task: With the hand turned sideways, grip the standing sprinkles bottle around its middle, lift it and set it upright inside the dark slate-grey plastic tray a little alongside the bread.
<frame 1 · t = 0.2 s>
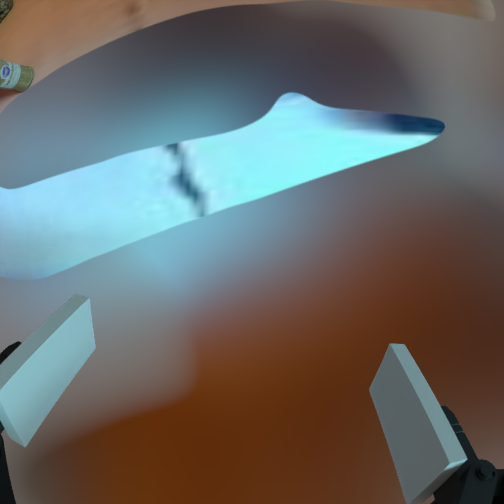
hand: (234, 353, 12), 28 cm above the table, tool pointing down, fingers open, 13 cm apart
sprinkles bottle: (26, 79, 34), on the table
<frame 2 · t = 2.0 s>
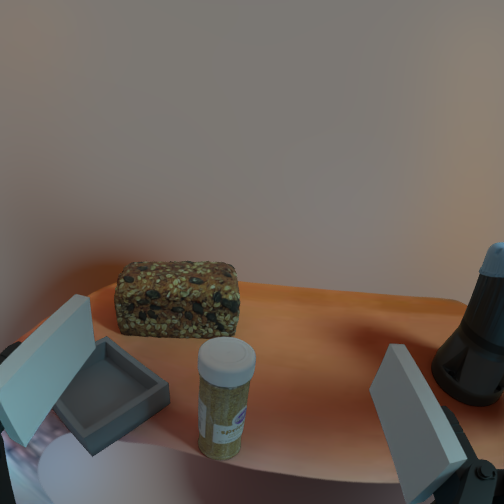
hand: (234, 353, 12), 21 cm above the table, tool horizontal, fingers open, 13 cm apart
tray: (101, 399, 30), on the table
sprinkles bottle: (219, 445, 28), on the table
bread: (177, 323, 49), on the table
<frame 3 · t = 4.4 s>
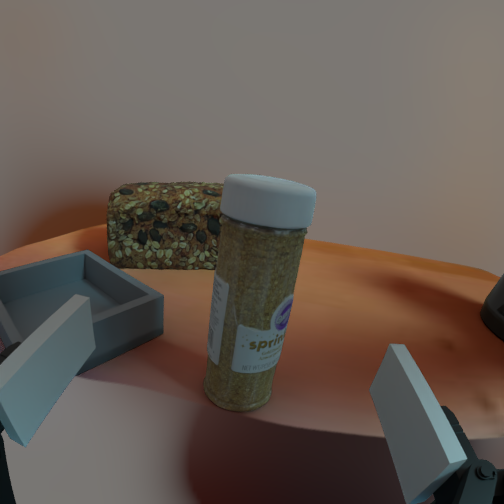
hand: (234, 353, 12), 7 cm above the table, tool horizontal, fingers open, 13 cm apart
tray: (65, 324, 22), on the table
sprinkles bottle: (236, 391, 19), on the table
bread: (178, 258, 41), on the table
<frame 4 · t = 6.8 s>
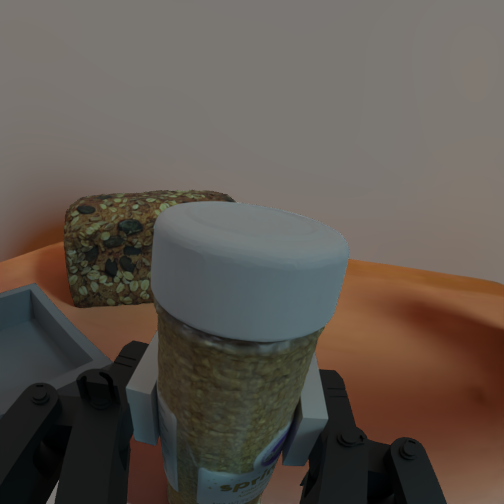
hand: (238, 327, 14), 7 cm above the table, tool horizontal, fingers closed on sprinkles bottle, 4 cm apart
tray: (5, 384, 14), on the table
sprinkles bottle: (212, 496, 11), on the table, touching gripper
bread: (153, 284, 33), on the table
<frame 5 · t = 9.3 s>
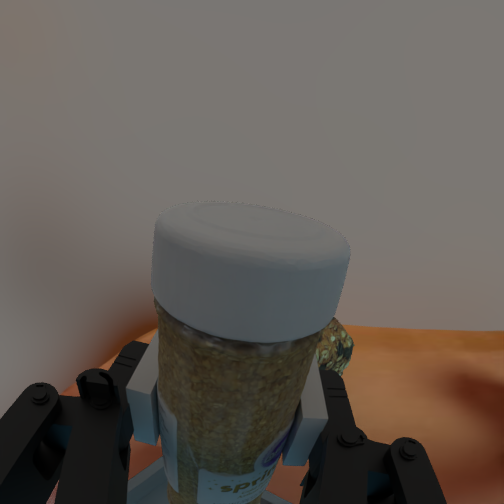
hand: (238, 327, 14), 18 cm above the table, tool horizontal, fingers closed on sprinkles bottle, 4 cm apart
sprinkles bottle: (213, 497, 11), point 11 cm above the table, touching gripper
bread: (261, 394, 34), on the table
when the fingers open (9 cm above the table, at t = 11.8 s): sprinkles bottle drops 1 cm, resting on tray.
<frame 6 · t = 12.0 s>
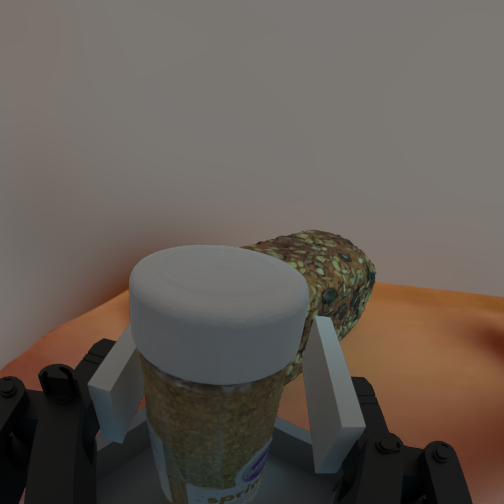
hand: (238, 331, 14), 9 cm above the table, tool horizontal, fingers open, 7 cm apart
bread: (283, 338, 31), on the table
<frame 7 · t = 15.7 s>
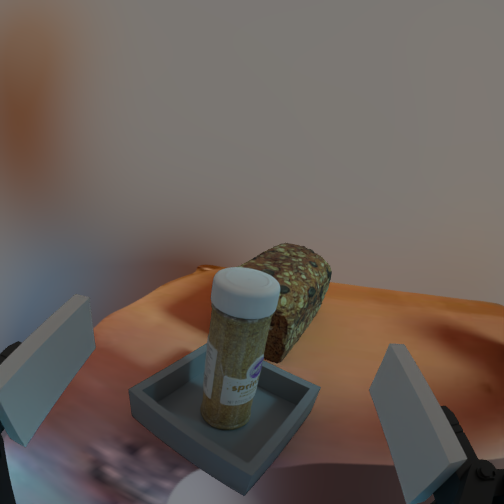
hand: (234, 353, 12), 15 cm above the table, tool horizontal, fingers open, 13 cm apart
tray: (225, 418, 25), on the table
sprinkles bottle: (224, 414, 25), point 1 cm above the table, touching tray
bread: (273, 323, 44), on the table
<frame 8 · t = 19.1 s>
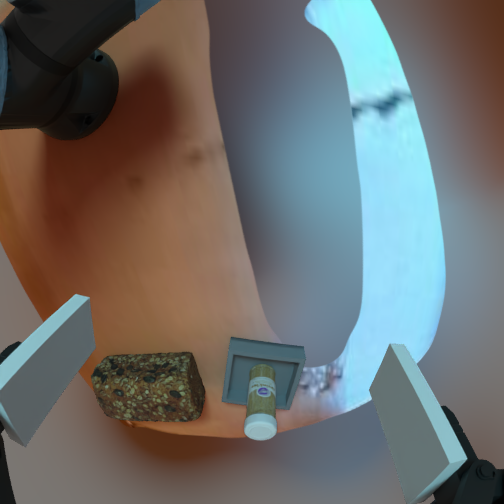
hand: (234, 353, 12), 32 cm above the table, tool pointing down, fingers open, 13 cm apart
tray: (261, 369, 51), on the table
sprinkles bottle: (262, 372, 50), point 1 cm above the table, touching tray
bread: (155, 371, 53), on the table
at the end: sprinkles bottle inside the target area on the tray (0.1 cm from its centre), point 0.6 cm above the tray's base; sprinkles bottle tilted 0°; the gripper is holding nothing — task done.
